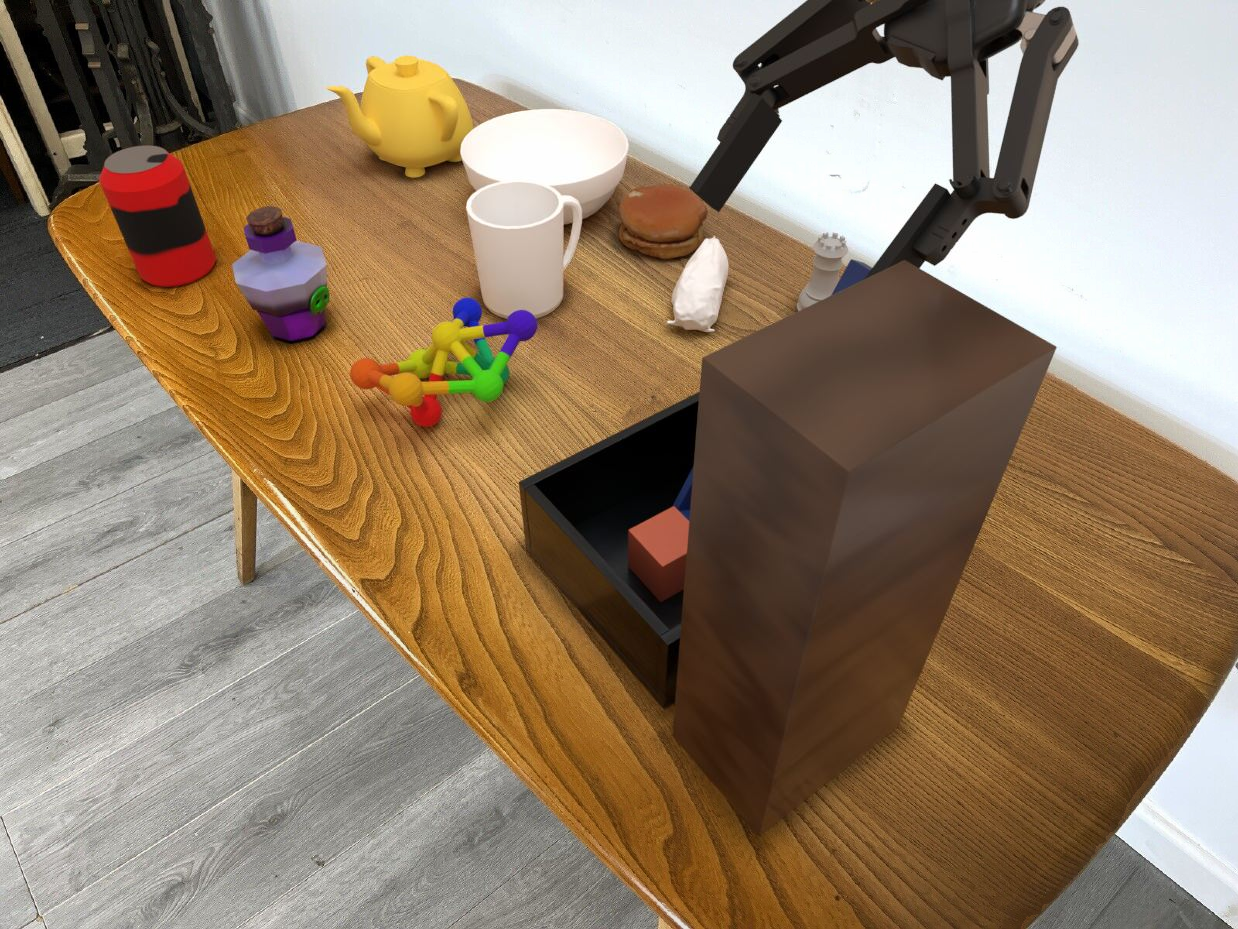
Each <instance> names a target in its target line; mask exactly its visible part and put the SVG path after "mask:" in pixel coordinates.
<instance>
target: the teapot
mask: <svg viewBox="0 0 1238 929" xmlns="http://www.w3.org/2000/svg"><path fill="white" fill-rule="evenodd" d="M365 67H366V72H367V74H368V75H367V78H366V79H365V80H366V81H365V84H364V86H363V91H362V94H361V98H360V105H359V102H358V100H357V97H356V96H355V94H354V92H353V91H352V90H351V89H349V88H348V87H346V86H343V85H342V86H341V85H331V86H330V85H329V86H326V87H325V89H326V90H328V91H330V92H332V93H333V94H336V95H337V97H339V98H340V99H341V102H342V103H343V105H344V108H345V112H346V115H347V116H346V117H347V119H348V122H349V125H350V128H351V130H352V132H353V133H354V135H356V137H358V139H360V140H361V141H363V142H364V143H365V144H366V145H367V146H368V147H369V148H370V150H372V152H374V154H376V156H378V159H379V160H381V161H385V162H386V163H389V164H392V165H395V166H398V167H403V168H405V172H404V174H405V176H406V177H409V178H420V177H423V176H424V175H425V174H426V169H425V168H428V167H431V166H435V165H438V164H441V163H444V162H446V161H447V162H450V163H457V162H461V161H462V158H461V155H460V150H461V143H462V142H463V140H464V138H465V136H466V135H467V134H468V133H469V132H470V131H471V130H473V129H474V123H473V119H472V115H471V111H470V109H469V107H468V105H467V101H466V100H465V97H464V96H463V95H462V92H461V91H460V89H459V88H458V85H457V84H456V83H455V81H454V80H453V78H452V77H451V75H450V74H449V72H448V71H447V70H445V68H443V67H442V66H440V65H439V64H437V63H435V62H432V61H430V60H426V59H421V58H418V57H417V56H413V55H402V56H399V57H396V58H394V60H393V61H392V62H386V61H384V59H382V58H380V57H378V56H374V55H371V56H368V57H367V58H366V61H365Z"/></svg>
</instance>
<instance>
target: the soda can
mask: <svg viewBox="0 0 1238 929" xmlns="http://www.w3.org/2000/svg"><path fill="white" fill-rule="evenodd" d="M98 181H99V184H100V187H101V190H102V191H103V193H104V195H105V199H106V200H107V203H108V206H109V208H110V210H111V212H112V215H113V217H114V219H115V222H116V224H117V226H118V229H119V232H120V233H121V236H122V238H123V240H124V243H125V245H126V247H127V249H128V252H129V255H130V256H131V258H132V261H133V264H134V266H135V268H136V271H137V273H138V275H139V278H141V279H142V280H143V281H145V282H147V283H148V284H150V285H152V286H155V287H161V288H172V287H180V286H185V285H189V284H192V283H194V282H197V281H199V280H200V279H203V278H204V277H206V275H208V274H209V273H210V272H211V271H212V269H213V268H214V266H215V263H216V260H217V258H216V254H215V251H214V248H213V245H212V243H211V240H210V236H209V233H208V231H207V228H206V226H205V225H206V224H205V223H204V220H203V217H202V214H201V211H200V208H199V206H198V203H197V200H196V197H195V195H194V192H193V189H192V186H191V183H190V181H189V178H188V175H187V172H186V169H185V167H184V164H183V162H182V160H180V159H178V158H177V157H176V156H174V155H173V154H171V153H169V152H168V151H167V150H166V149H165V148H163V147H160V146H157V145H137V146H136V145H135V146H131V147H126V148H124V149H123V148H122V149H121V150H118V151H116V152H114V153H112V154H110V155H109V156H108V157H107V158H106V159H105V161H104V162H103V168H102V170H101V173H100V176H99V178H98Z"/></svg>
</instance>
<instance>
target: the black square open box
mask: <svg viewBox="0 0 1238 929" xmlns="http://www.w3.org/2000/svg"><path fill="white" fill-rule="evenodd" d="M699 392H700V391H698V392H696V393H694V394H692V395H689V396H688V397H686V398H683V399H681V400H679V401H678V402H675V403H674V404H672V405H670V406H667V407H666V408H664V409H662V410H660V411H658V412H656V413H654V414H651V415H650V416H648V417H646V418H644V419H642V420H640V421H638V422H636V423H634V424H631V425H629V426H628V427H626V428H624V429H622V430H620V431H618V432H616V433H613V434H612V435H610V436H608V437H606V438H604V439H602V440H600V441H598V442H596V443H594V444H592V445H589V446H588V447H586V448H584V449H581V450H579V451H578V452H576V453H574V454H572V455H569V456H568V457H566V458H564V459H562V460H560V461H557V462H555V463H554V464H551V465H549V466H548V467H545V468H544V469H541V470H540V471H538V472H535V473H534V474H531V475H530V476H527V477H525V478H523V479H522V480H520V481H518V489H519V499H520V508H521V517H522V525H523V533H524V543H525V550H526V552H527V553H528V555H530V556H531V558H532V559H533V560H534V561H535V562H536V563H537V565H538V566H539V567H540V568H541V569H542V570H543V571H544V572H545V574H546V575H547V576H548V578H550V580H551V581H552V582H553V583H554V584H555V585H556V586H557V588H558V589H560V591H561V592H562V593H563V595H564V596H565V597H566V598H567V599H568V601H569V602H570V603H571V604H572V605H573V606H574V608H576V610H577V611H578V612H579V613H580V614H581V616H582V617H583V618H584V619H585V620H586V621H587V623H588V624H589V625H590V626H591V627H592V628H593V629H594V631H595V632H596V633H597V634H598V635H599V636H600V638H602V640H603V641H604V642H605V644H606V645H608V647H609V648H610V649H611V651H612V652H614V654H615V655H616V656H617V657H618V659H619V660H620V661H621V662H622V663H623V664H624V666H626V668H627V669H628V670H629V671H630V672H631V674H632V675H633V676H634V677H635V678H636V679H637V680H638V681H639V683H640V684H641V685H642V686H643V688H645V690H646V691H647V692H648V693H649V694H650V696H651V697H652V698H653V699H654V700H655V701H656V703H658V704H659V706H660V707H661V709H662V710H664V711H665V710H666V709H668V708H669V707H670V706H672V705H673V704H674V705H675V697H676V685H677V672H678V659H679V646H680V634H681V621H682V608H683V596H684V589H683V590H682V591H680V592H678V593H676V594H675V595H673V596H671V597H669V598H668V599H666V600H664V601H662V602H660V601H659V600H658V599H657V598H656V597H655V596H654V594H653V593H652V592H651V591H650V590H649V589H648V588H647V587H646V585H645V584H644V583H643V582H642V581H641V580H640V579H639V578H638V577H637V575H636V574H635V573H634V572H633V571H632V570H631V569H630V568H629V566H628V530H629V529H631V528H633V527H635V526H637V525H639V524H641V523H642V522H644V521H646V520H648V519H650V518H652V517H654V516H656V515H658V514H660V513H662V512H663V511H665V510H667V509H669V508H671V507H672V506H673V504H674V502H675V500H676V499H677V497H678V495H679V493H680V491H681V489H682V487H683V485H684V483H685V481H686V480H687V478H688V476H689V474H690V472H691V470H692V468H693V466H694V455H695V443H696V430H697V417H698V404H699Z"/></svg>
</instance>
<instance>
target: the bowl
mask: <svg viewBox="0 0 1238 929" xmlns="http://www.w3.org/2000/svg"><path fill="white" fill-rule="evenodd" d="M629 151H630V144H629V139H628V137H627V135H626V134H625V132H624V131H623V129H621V128H620V127H619V126H618V125H616V124H615V123H613V122H611V121H610V120H608V119H606V118H603V117H600V116H598V115H595V114H592V113H588V112H584V111H579V110H573V109H572V110H571V109H561V108H535V109H526V110H520V111H515V112H510V113H506V114H502V115H499V116H497V117H493V118H490V119H488V120H487V121H483V122H482V123H480V124H479V125H477V126H475V127H473V130H471V131H470V132H469V133H468V134H467V135H466V136H465V138H464V140H463V142H462V143H461V150H460V155H461V158H462V160H461V161H462V163H463V164H462V165H463V167H464V170H465V172H466V176H467V179H468V181H469V183H470V185H471V186H472V188H473V189H474V190H475V192H476V191H477V190H479V189H481V188H483V187H485V186H487V185H490V184H494V183H497V182H503V181H510V180H527V181H536V182H539V183H543V184H546V185H548V186H550V187H552V188H554V189H556V190H557V191H558V192H559V193H560V194H561V196H563V195H567V196H572V197H573V198H575V199H577V200H578V201H579V204H580V206H581V209H582V220H584V219H587V218H589V217H590V216H593V215H594V214H596V213H597V212H598V211H599V210H601V209H602V208H603V206H604V205H605V204H606V203H607V202H608V201H609V200H610V199H611V198H612V196H613V195H614V193H615V191H616V189H617V186H618V185H619V183H620V182H621V180H623V178H624V174H625V169H626V165H627V160H628V155H629ZM568 224H573V210H572V207H570V206H569V205H564V207H563V225H568Z"/></svg>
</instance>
